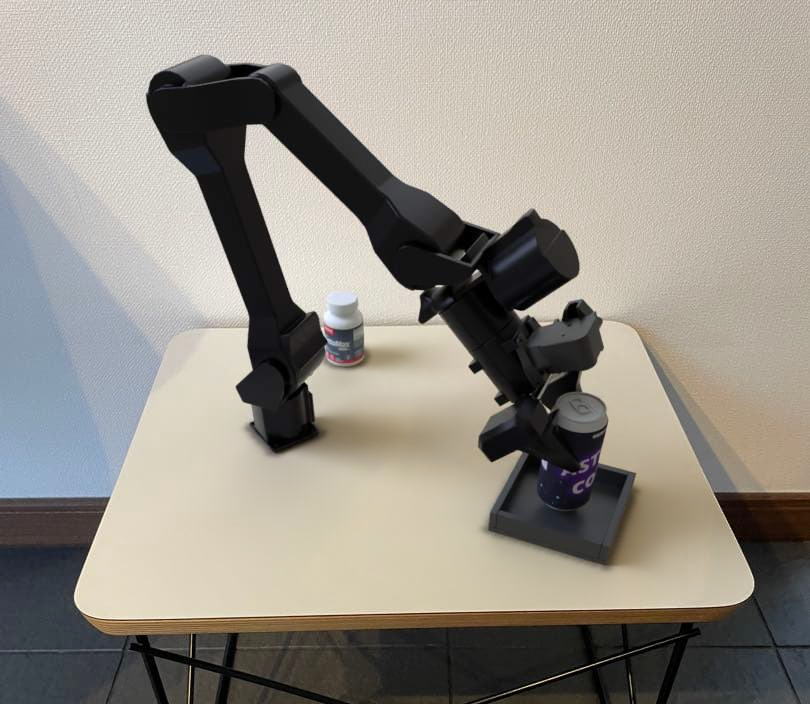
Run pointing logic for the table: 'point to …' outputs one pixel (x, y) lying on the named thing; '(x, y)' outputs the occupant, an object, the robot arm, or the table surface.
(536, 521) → the square tray
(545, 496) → the beverage can
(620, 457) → the table surface
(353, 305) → the pill bottle
